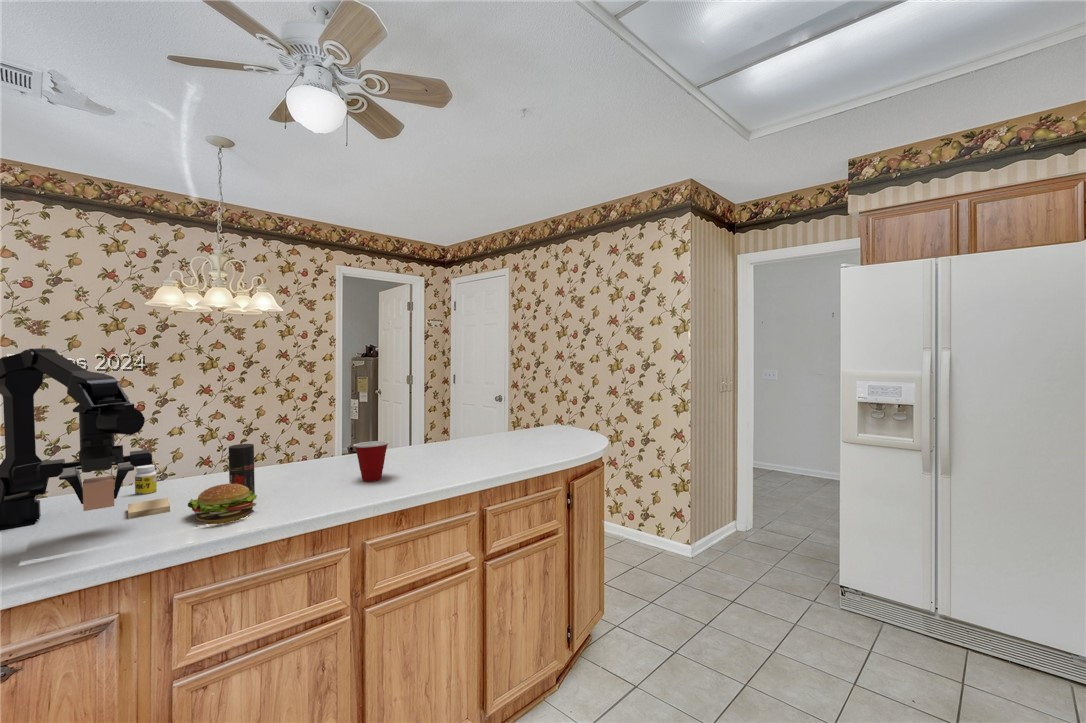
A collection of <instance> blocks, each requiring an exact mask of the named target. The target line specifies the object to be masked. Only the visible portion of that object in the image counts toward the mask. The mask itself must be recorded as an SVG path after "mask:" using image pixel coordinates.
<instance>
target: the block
mask: <svg viewBox="0 0 1086 723" xmlns="http://www.w3.org/2000/svg"><path fill="white" fill-rule="evenodd" d="M114 477H115V476H114V474H112V475H106V476H98V477H91V478H84V479H83V481H82V487H83V504H82V506H83V509H82V510H83V512H88V511H93V510H94V511H95V510H98V509H99V510H100V509H106V508H112V507H115V499H114V487H115V481H114V480H115V479H114Z"/></svg>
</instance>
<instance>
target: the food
mask: <svg viewBox="0 0 1086 723" xmlns="http://www.w3.org/2000/svg"><path fill="white" fill-rule="evenodd" d="M257 497H258V495H257V494H256V493H255V494H254V493H253V492H252V491H249V489H248V488H247V487H246V486H244V485H241V484H229V483H222V484H218V485H214V486H211V487H209V488H207V489H205V490H203V491H201V493H199V495H198V497H197V499H196V498H195V499H193V498H191V499H190V500H189V501H188V503H187V507H188V508H190V509H191V511H193V513H195V517H196V518H195V519H196V521H199V522H203V523H204V522H205V523H207V525H217V524H218V525H219V523H220V524H226V522H227V523H231V522H234V521H238V520H240V519H243V518H245V517H246V515H247V514H249V513H250V512H251V511H253V510H252V509H253V508H254V507H256V506H257V502H254V501H255V500H256V499H257Z"/></svg>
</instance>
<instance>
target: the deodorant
mask: <svg viewBox="0 0 1086 723" xmlns="http://www.w3.org/2000/svg"><path fill="white" fill-rule="evenodd" d="M228 473H229V474H228V480H229V481H228V482H229V483H228V484H241V485H244V486H246V487H247V488H248V489H249V491H252V492H253V493H254V494H255V495H256V491H255V490H256V489H255V486H256V484H255V481H256V480H255V445H254V444H253V443H239V444H233V445H229V446H228Z"/></svg>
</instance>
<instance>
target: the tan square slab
mask: <svg viewBox="0 0 1086 723" xmlns="http://www.w3.org/2000/svg"><path fill="white" fill-rule="evenodd" d="M169 512H171V504H170V501H169V498H168V497H164V498H157V499H151V500H145V501H139V502H134V503H133V502H132V503H128V504H127V516H128V520H130V519H137V518H140V517H141V518H142V517H147V516H152V515H158V514H163V513H169Z"/></svg>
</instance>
